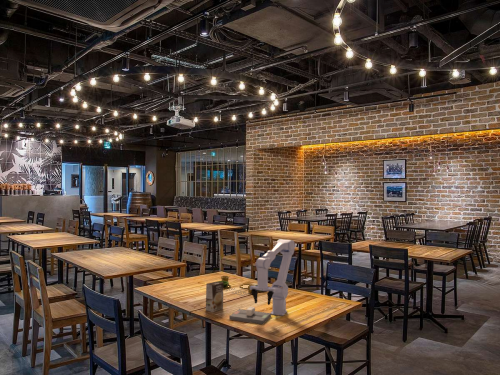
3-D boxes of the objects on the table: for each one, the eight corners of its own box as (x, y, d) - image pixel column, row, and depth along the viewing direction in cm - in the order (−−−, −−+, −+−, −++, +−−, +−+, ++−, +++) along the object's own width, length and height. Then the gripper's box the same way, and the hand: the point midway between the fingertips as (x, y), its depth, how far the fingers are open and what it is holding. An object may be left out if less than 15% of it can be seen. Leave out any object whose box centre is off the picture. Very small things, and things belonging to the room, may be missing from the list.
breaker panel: (229, 319, 220) (229, 315, 220) (239, 312, 233) (239, 308, 233) (262, 324, 212) (262, 320, 212) (271, 316, 225) (271, 313, 226)
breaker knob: (246, 315, 220) (246, 309, 220) (250, 312, 226) (250, 306, 226) (251, 315, 219) (251, 310, 219) (254, 312, 225) (254, 307, 225)
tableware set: (206, 286, 297) (206, 278, 297) (233, 281, 316) (233, 273, 316) (243, 297, 267) (243, 288, 267) (270, 290, 287) (270, 282, 287)
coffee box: (212, 312, 232) (213, 285, 232) (205, 310, 236) (205, 283, 236) (223, 308, 239) (223, 282, 240) (216, 306, 243) (216, 281, 244)
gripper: (248, 279, 218) (247, 304, 218) (272, 282, 213) (272, 307, 213) (252, 277, 225) (252, 300, 225) (276, 279, 219) (276, 303, 219)
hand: (262, 303), depth 219 cm, fingers open, 7 cm apart
